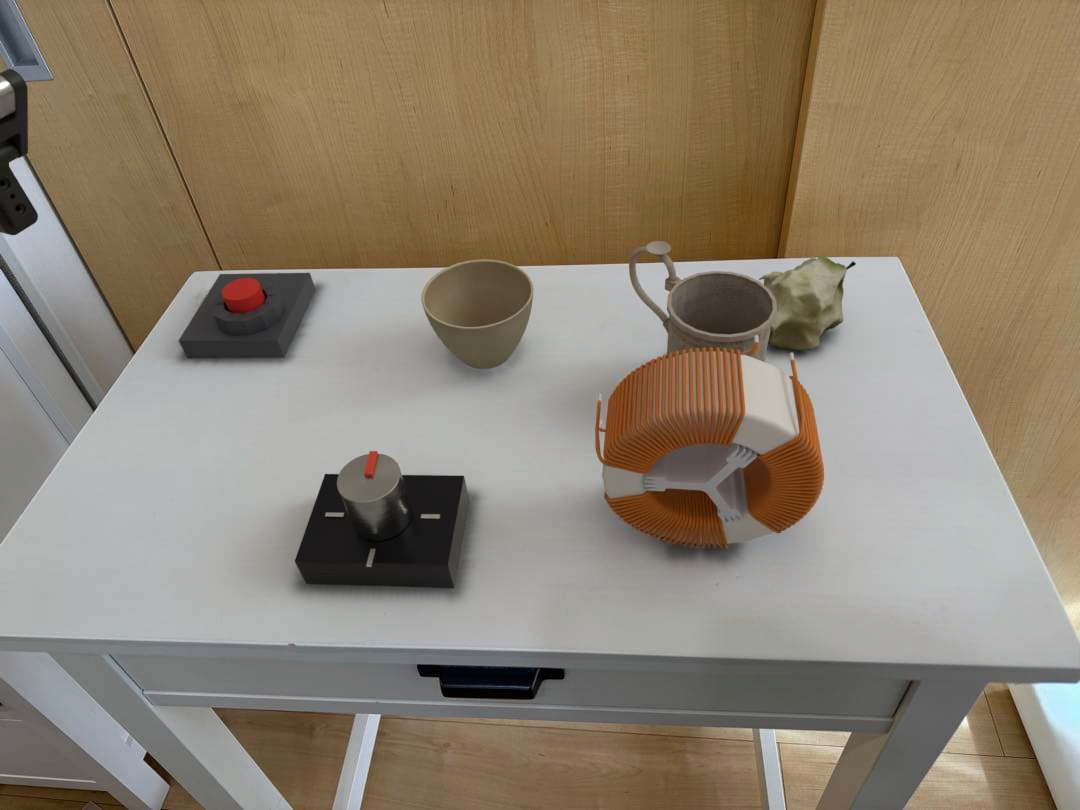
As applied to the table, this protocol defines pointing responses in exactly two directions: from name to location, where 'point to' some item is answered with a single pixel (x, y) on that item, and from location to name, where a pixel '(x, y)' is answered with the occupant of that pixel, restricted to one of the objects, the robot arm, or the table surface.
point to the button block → (249, 318)
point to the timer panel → (399, 561)
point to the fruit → (806, 302)
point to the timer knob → (375, 496)
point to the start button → (243, 295)
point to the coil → (710, 448)
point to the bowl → (479, 310)
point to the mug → (710, 308)
